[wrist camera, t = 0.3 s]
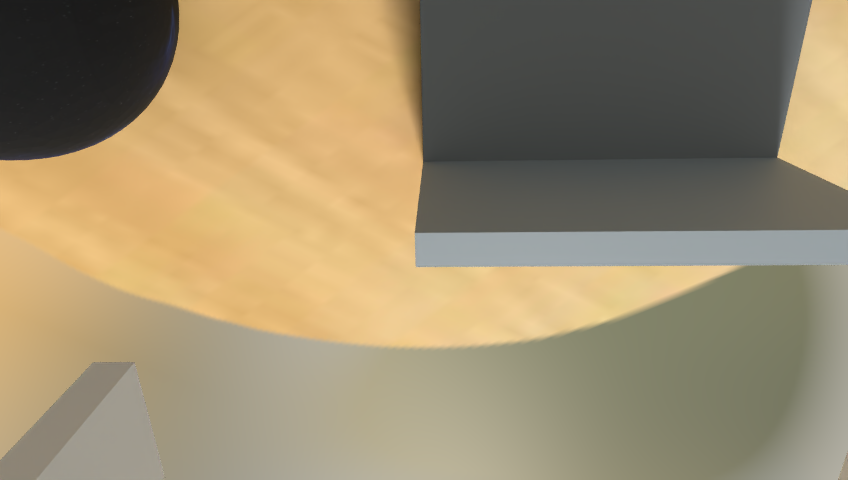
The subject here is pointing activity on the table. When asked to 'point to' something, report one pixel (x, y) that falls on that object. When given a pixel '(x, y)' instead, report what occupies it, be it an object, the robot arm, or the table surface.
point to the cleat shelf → (616, 136)
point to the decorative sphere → (79, 70)
